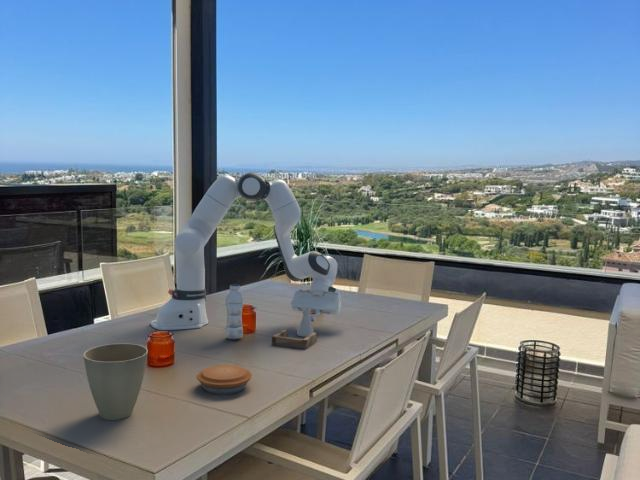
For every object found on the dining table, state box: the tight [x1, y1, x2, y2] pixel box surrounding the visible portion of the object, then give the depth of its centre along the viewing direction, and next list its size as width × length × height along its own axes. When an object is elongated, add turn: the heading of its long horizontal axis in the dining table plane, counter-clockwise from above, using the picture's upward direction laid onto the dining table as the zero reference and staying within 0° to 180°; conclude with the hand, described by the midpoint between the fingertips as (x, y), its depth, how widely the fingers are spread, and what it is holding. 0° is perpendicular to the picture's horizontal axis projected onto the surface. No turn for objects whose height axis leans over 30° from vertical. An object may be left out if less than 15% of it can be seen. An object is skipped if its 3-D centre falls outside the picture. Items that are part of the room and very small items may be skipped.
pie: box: [195, 364, 253, 395], centre depth 164 cm, size 15×16×5 cm
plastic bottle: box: [224, 284, 244, 340], centre depth 213 cm, size 6×7×20 cm
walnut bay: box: [271, 328, 318, 350], centre depth 211 cm, size 12×13×3 cm
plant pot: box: [83, 342, 149, 421], centre depth 143 cm, size 15×15×16 cm
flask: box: [296, 309, 315, 338], centre depth 222 cm, size 7×7×10 cm
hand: (311, 320), depth 227 cm, fingers closed
